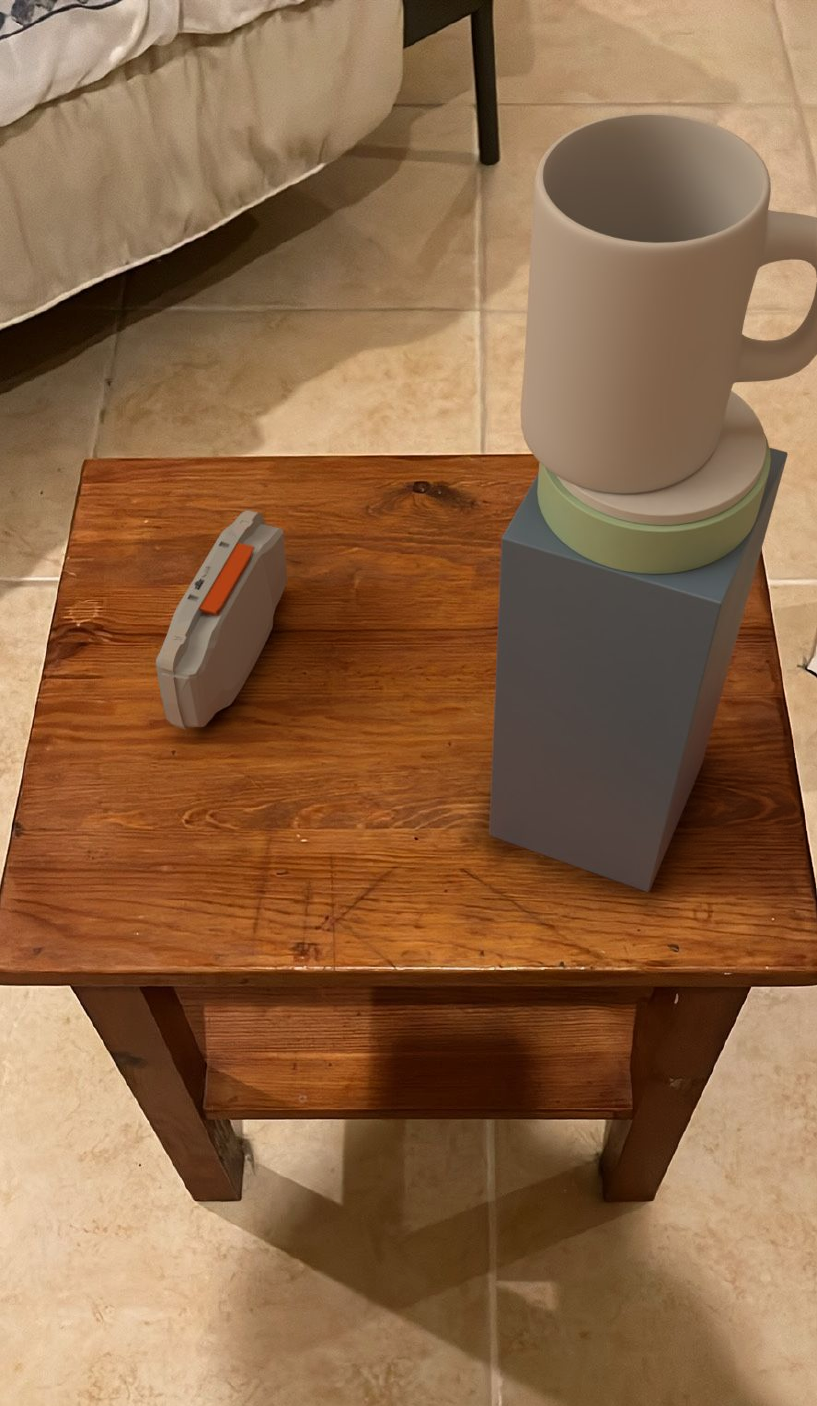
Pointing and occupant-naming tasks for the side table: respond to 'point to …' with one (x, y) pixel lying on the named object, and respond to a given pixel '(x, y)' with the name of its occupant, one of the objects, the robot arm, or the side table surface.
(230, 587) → the grey case
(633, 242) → the mug
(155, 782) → the side table surface
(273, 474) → the side table surface
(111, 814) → the side table surface
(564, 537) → the round tin
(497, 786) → the stand
